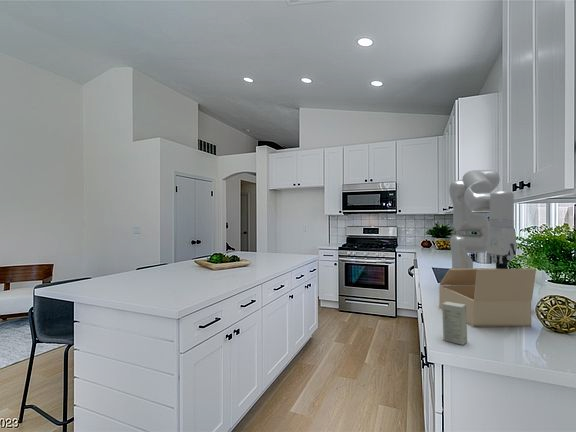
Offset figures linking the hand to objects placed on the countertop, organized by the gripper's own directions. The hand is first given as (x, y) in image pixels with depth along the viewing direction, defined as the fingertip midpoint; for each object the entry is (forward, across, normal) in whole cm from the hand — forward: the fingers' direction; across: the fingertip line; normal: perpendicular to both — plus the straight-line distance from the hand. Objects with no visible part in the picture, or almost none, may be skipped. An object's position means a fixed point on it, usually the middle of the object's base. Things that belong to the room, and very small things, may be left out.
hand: (501, 273), depth 113 cm
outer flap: (+4, +1, 0) cm, 4 cm away
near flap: (+5, -20, 0) cm, 20 cm away
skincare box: (+20, +12, -25) cm, 34 cm away
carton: (+20, -12, 0) cm, 23 cm away
